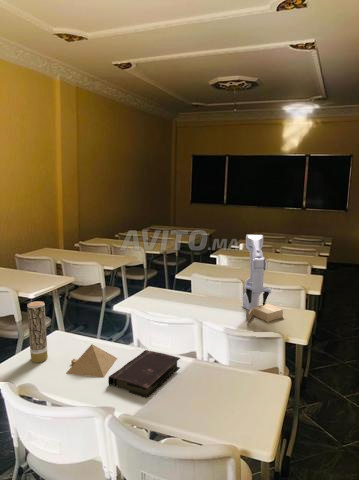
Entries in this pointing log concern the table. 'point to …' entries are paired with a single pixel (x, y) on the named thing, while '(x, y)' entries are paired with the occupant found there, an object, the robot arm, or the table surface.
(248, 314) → the carton flap
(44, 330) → the bark-patterned cylinder
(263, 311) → the carton
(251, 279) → the robot arm
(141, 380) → the diary
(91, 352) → the model pyramid
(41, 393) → the table surface
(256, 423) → the table surface
